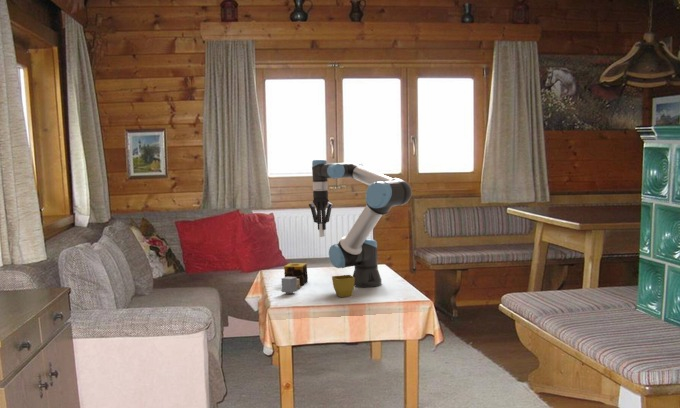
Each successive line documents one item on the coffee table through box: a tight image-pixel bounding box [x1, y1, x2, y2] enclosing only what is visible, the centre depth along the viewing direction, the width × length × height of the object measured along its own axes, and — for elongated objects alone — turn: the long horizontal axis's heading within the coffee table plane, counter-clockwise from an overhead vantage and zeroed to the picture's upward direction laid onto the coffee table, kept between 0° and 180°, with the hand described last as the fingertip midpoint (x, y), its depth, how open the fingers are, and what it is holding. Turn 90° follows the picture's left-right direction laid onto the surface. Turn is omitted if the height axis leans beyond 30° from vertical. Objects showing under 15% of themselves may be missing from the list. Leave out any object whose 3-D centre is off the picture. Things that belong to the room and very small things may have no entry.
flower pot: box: [331, 274, 355, 298], centre depth 295 cm, size 9×9×9 cm
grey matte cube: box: [281, 276, 298, 294], centre depth 303 cm, size 5×5×7 cm
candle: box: [283, 262, 309, 287], centre depth 327 cm, size 10×10×10 cm
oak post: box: [297, 279, 301, 291], centre depth 313 cm, size 3×3×5 cm
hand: (322, 236), depth 324 cm, fingers closed
